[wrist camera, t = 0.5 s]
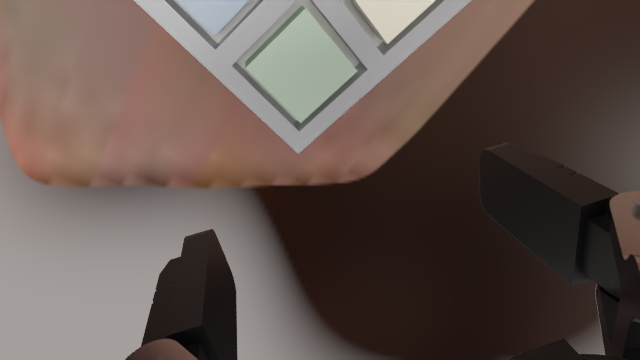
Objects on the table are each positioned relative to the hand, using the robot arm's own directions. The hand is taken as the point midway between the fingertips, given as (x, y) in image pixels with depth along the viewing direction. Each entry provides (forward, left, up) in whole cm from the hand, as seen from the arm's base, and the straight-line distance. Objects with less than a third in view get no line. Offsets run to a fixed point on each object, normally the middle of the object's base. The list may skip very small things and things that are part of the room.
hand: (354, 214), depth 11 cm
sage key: (-1, 0, -17) cm, 17 cm away
